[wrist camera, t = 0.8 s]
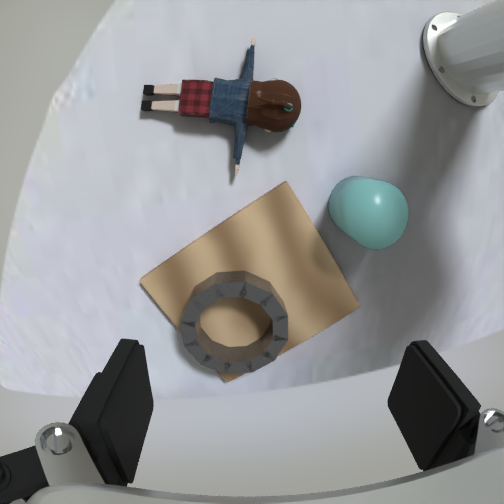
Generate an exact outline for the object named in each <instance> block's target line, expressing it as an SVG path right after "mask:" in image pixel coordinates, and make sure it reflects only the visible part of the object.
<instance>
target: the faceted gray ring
mask: <svg viewBox="0 0 504 504" xmlns="http://www.w3.org/2000/svg"><path fill="white" fill-rule="evenodd" d="M234 297H243V298H246V299H248V300H250V301H253V302H255V303H257V304H260V305H262V307H263V308H264V309H265V311H266V312H267V313H268V315H269V316H270V325H269V326H268V328H267V330H266V331H265V333H264V335H263V336H262V338H260V339H258V340H256V341H255V342H253V343H251V344H249V345H247V346H237V347H228V346H225V345H223V344H220V343H218V342H215V341H213V340H212V339H211V338H210V337H209V336H208V335H207V334H206V332H205V331H204V330H203V329H202V328H201V323H200V315H201V313H202V311H203V309H204V308H206V307H207V306H209V305H211V304H212V303H214V302H216V301H217V300H219V299H220V298H234ZM180 325H181V331H182V336H183V342H184V346H185V347H186V348H187V349H188V351H189V352H190V353H191V354H192V355H193V356H194V357H195V358H196V359H197V360H198V362H199V363H200V364H201V365H204V366H206V367H209V368H212V369H214V370H217V371H219V372H222V373H225V374H232V373H249V372H254V371H256V370H258V369H259V368H261V367H263V366H265V365H267V364H269V363H271V362H272V361H274V360H275V359H276V358H277V356H278V355H279V353H280V352H281V350H282V349H283V347H284V346H285V344H286V343H287V341H288V314H287V310H286V307H285V304H284V301H283V300H282V299H281V297H280V296H279V294H278V293H277V291H276V290H275V288H274V287H273V286H272V284H271V283H270V282H269V281H267V280H265V279H263V278H261V277H258V276H256V275H254V274H252V273H250V272H247V271H245V270H243V271H228V272H216V273H215V274H213V275H212V276H210V277H209V278H207V279H205V280H204V281H202V282H201V283H199V284H198V285H196V286H195V287H194V289H193V291H192V293H191V295H190V297H189V300H188V302H187V304H186V306H185V308H184V311H183V314H182V317H181V320H180Z"/></svg>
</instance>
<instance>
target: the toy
mask: <svg viewBox="0 0 504 504" xmlns="http://www.w3.org/2000/svg"><path fill="white" fill-rule="evenodd" d="M254 46H255V38H254V37H252V41H251V47H250V50H247V54H246V60H245V65H244V71H243V73H242V75H241V78H240V79H236V80H228V81H227V80H223V79H219V78H215V79H214V82H211V81H207V80H182V84H170V85H157V86H153V85H144V90H143V94H145V95H154V94H160V95H175V96H180V100H173V101H142V104H141V110H143V111H152V110H160V111H171V112H178V114H180V115H182V116H191V117H209V120H210V123H214V122H224V123H228V124H231V125H234V129H235V144H234V156H233V158H236V165H235V175H237V173H238V171H239V164H240V159H241V155H242V150H243V145H244V139H245V134H246V129H247V125H255V126H259V127H261V128H263V129H264V130H265V131H266V132H282V131H285V130H287V129H289V128H290V127H294V124H295V123H296V121H297V119H298V117H299V115H300V111H301V100H300V96H299V94H298V92H297V90H296V89H295V88H294V87H293V86H292V85H291V84H290V83H288V82H286V81H283V80H278V79H275V78H274V79H271V80H270V81H265V82H259V81H253V68H254Z"/></svg>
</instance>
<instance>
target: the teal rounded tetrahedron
mask: <svg viewBox="0 0 504 504" xmlns="http://www.w3.org/2000/svg"><path fill="white" fill-rule="evenodd" d="M329 213H330V216H331V218H332V220H333V222H334V223H335V225H336V226H337V227H339V228H340V229H341V230H342V231H344V232H345V233H346V234H348V235H349V236H350V237H351V238H353V239H354V240H355V241H357V242H358V243H359V244H361V245H362V246H364V247H366V248H369V249H383V248H387V247H389V246H391V245H392V244H394V243H395V242H396V241H397V240H398V239H399V238H400V237H401V236H402V234H403V232H404V231H405V228H406V226H407V222H408V216H409V211H408V205H407V201H406V199H405V197H404V195H403V194H402V192H401V191H400V190H399V189H398V188H397V187H396V186H394V185H392V184H390V183H388V182H383V181H379V180H374V179H370V178H365V177H360V176H352V177H348V178H345V179H343V180H342V181H340V182H339V183H338V184H337V185H336V186H335V187H334V189H333V191H332V193H331V195H330V198H329Z"/></svg>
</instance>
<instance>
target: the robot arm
mask: <svg viewBox="0 0 504 504" xmlns="http://www.w3.org/2000/svg"><path fill="white" fill-rule="evenodd" d="M423 44H424V50H425V54H426V58H427V60H428V63H429V66H430V68H431V70H432V71H433V73H434V75H435V77H436V78H437V80H438V81H439V83H440V84H441V85H442V86H443V88H444V89H445V90H446V91H447V92H448V93H449V94H450V95H451V96H452V97H453V98H455V99H456V100H458V101H459V102H461V103H463V104H466V105H468V106H474V107H477V106H484V105H488V104H489V103H491V102H492V101H493V100H494V99H495V98H496V96H497V94H498V92H499V91H503V90H504V0H496V1H493V2H491V3H489V4H487V5H484V6H482V7H480V8H478V9H476V10H474V11H471V12H469V13H467V14H465V15H463V16H462V15H460V14H457V13H454V12H441V13H439V14H437V15H435V16H433V17H432V18H431V19H429V21H428V22H427V24H426V26H425V29H424V34H423ZM388 407H389V409H390V411H391V413H392V415H393V417H394V419H395V421H396V423H397V425H398V427H399V429H400V431H401V433H402V435H403V437H404V439H405V441H406V443H407V445H408V447H409V449H410V451H411V453H412V455H413V457H414V459H415V461H416V463H417V465H418V467H419V469H421V470H423V472H420V473H416V474H413V475H409V476H406V477H401V478H397V479H393V480H389V481H385V482H380V483H375V484H370V485H365V486H360V487H354V488H349V489H342V490H335V491H327V492H319V493H310V494H300V495H287V496H286V495H285V496H264V497H263V496H262V497H230V496H229V497H228V496H207V495H193V494H180V493H170V492H162V491H153V490H147V489H140V488H131V487H127V484H128V483H133V480H134V477H135V473H136V469H137V465H138V462H139V458H140V454H141V451H142V447H143V443H144V440H145V436H146V433H147V429H148V426H149V422H150V418H151V415H152V412H153V397H152V392H151V386H150V380H149V375H148V369H147V362H146V356H145V349H144V346H143V345H139V342H138V340H131V339H121V340H120V341H119V343H118V345H117V347H116V348H115V350H114V352H113V354H112V355H111V357H110V359H109V361H108V363H107V364H106V366H105V368H104V370H103V372H102V373H101V372H98V373H96V375H95V376H94V378H93V380H92V381H91V383H90V385H89V387H88V388H87V390H86V392H85V394H84V396H83V397H82V399H81V401H80V403H79V405H78V407H77V409H76V410H75V412H74V414H73V416H72V418H71V420H70V422H69V424H66V423H60V422H59V423H58V422H57V423H51V424H49V425H46V426H44V427H43V428H42V429H40V430H39V432H38V433H37V435H36V438H35V446H32V447H30V448H27V449H24V450H20V451H17V452H14V453H11V454H8V455H5V456H1V457H0V504H504V412H503V411H501V410H498V409H494V408H491V409H486V410H484V411H483V412H482V413H481V414H480V412H479V409H480V407H481V405H480V403H479V402H478V401H477V400H476V398H475V397H474V396H473V395H472V393H471V392H470V391H469V390H468V389H467V387H466V386H465V385H464V384H463V383H462V381H461V380H460V379H459V378H458V376H457V375H456V374H455V373H454V372H453V370H452V369H451V368H450V367H449V366H448V364H447V363H446V362H445V361H444V360H443V359H442V357H441V356H440V355H439V354H438V353H437V352H436V350H435V349H434V348H433V347H432V346H431V345H430V343H429V342H428V341H426V340H421V341H413V342H411V343H410V345H409V346H407V348H406V350H405V353H404V356H403V359H402V362H401V365H400V368H399V371H398V374H397V376H396V379H395V382H394V385H393V387H392V390H391V392H390V395H389V398H388Z"/></svg>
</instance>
